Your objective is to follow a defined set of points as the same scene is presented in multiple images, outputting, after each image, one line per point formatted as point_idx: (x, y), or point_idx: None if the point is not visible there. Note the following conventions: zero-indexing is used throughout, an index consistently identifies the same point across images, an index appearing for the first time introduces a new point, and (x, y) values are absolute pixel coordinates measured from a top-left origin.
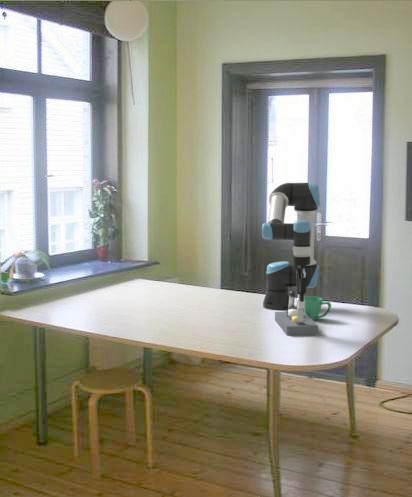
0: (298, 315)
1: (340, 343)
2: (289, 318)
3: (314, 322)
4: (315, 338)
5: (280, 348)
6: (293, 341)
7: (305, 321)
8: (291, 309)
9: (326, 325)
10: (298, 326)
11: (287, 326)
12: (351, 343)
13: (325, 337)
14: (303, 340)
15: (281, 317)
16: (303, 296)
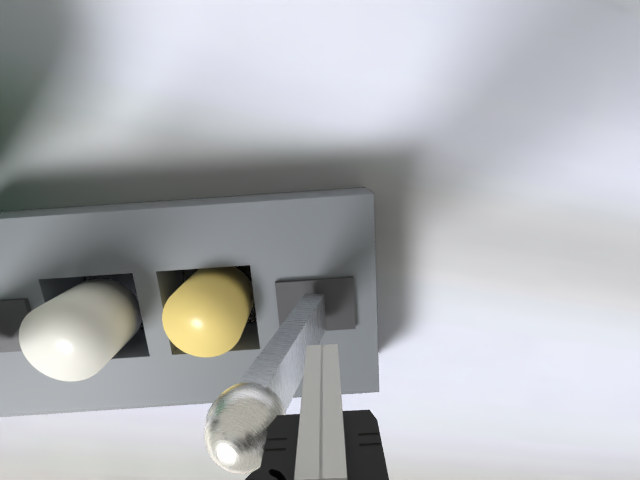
0: None
1: (586, 85)
2: (163, 352)
3: (277, 203)
4: (450, 218)
5: (603, 413)
6: (493, 342)
7: (248, 262)
8: (45, 357)
9: (125, 81)
10: (376, 324)
11: (378, 389)
12: (602, 8)
13: (436, 153)
14: (482, 290)
15: (138, 396)
16: (386, 470)
